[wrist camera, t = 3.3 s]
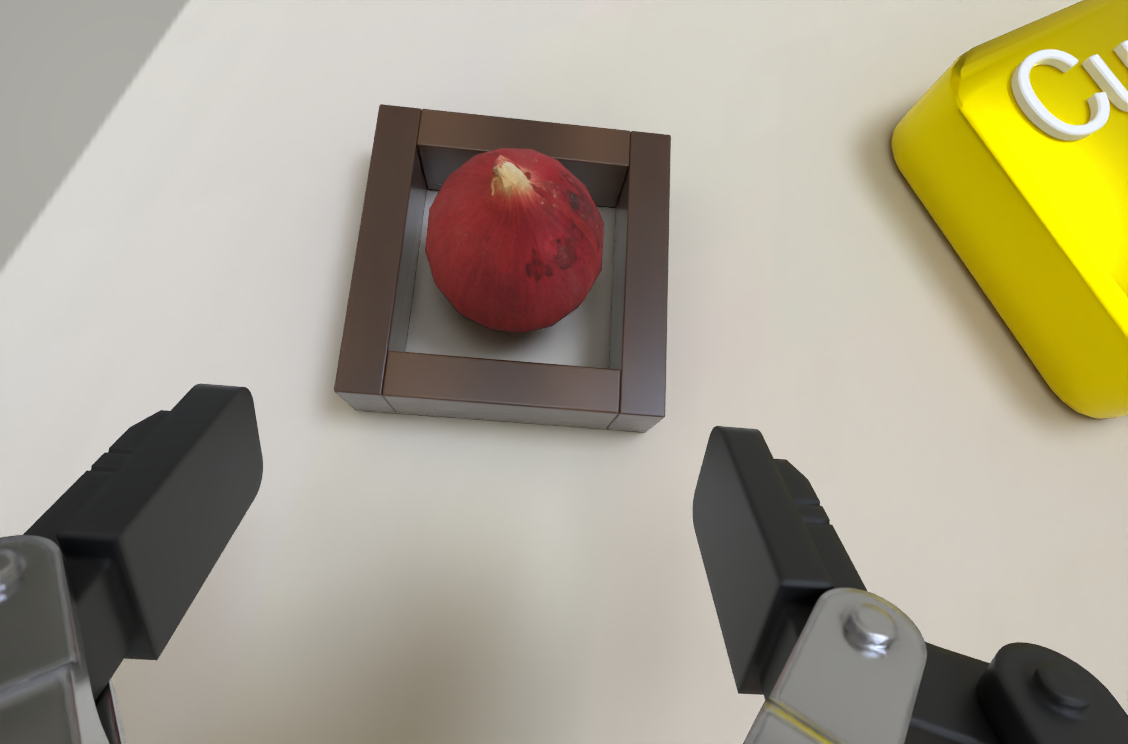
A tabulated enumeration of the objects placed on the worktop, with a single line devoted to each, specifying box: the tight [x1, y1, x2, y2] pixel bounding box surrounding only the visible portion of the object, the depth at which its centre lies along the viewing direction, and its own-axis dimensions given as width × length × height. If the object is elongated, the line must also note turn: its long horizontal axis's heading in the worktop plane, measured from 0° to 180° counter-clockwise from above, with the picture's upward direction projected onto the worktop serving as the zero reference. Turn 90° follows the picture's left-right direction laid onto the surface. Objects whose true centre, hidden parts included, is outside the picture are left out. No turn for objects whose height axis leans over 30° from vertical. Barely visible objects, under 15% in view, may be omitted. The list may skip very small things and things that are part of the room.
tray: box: [334, 105, 671, 432], centre depth 23 cm, size 11×11×3 cm
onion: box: [425, 148, 604, 333], centre depth 21 cm, size 6×6×8 cm
